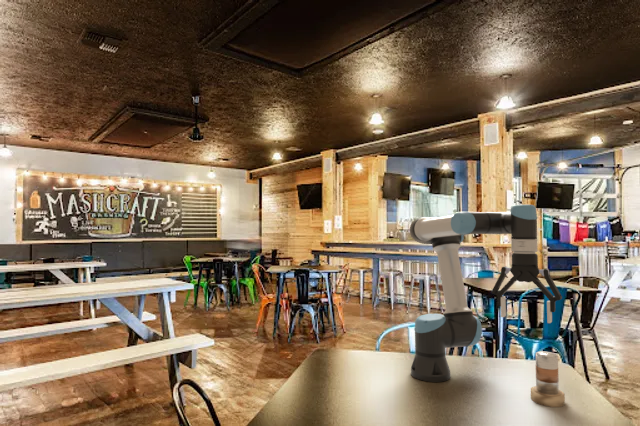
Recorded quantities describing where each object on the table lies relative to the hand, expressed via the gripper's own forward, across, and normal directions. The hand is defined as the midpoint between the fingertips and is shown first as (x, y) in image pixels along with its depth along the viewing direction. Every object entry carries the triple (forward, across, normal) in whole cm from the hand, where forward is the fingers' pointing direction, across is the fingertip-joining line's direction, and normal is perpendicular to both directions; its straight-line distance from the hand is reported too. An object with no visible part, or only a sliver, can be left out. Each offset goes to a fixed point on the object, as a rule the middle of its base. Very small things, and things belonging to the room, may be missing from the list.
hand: (525, 319), depth 132 cm
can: (+25, +3, +13) cm, 29 cm away
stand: (+29, +3, +13) cm, 32 cm away
